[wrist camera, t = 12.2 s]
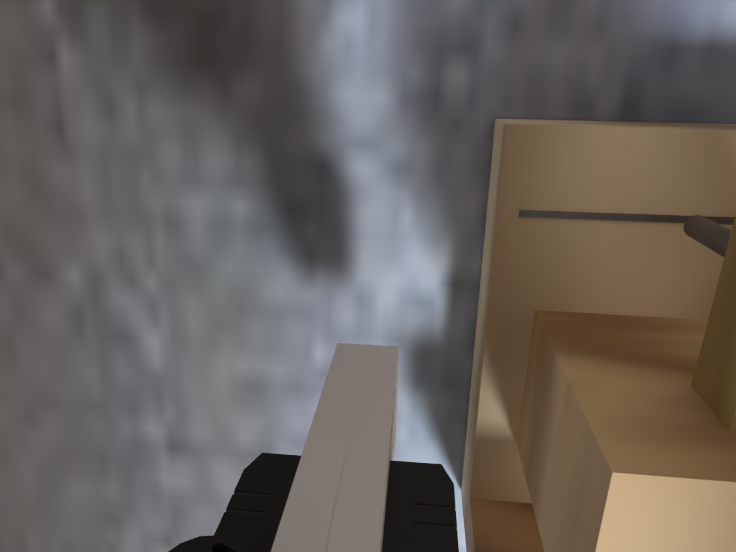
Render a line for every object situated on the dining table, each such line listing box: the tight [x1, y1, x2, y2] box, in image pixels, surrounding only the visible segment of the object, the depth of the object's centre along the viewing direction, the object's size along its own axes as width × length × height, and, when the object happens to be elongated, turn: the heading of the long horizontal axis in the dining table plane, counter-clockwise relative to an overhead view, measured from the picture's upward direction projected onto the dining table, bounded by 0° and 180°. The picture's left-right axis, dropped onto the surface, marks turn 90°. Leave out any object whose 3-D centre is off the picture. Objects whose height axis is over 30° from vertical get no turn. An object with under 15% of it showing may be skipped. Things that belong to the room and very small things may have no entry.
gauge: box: [517, 215, 736, 552], centre depth 11 cm, size 6×8×6 cm
